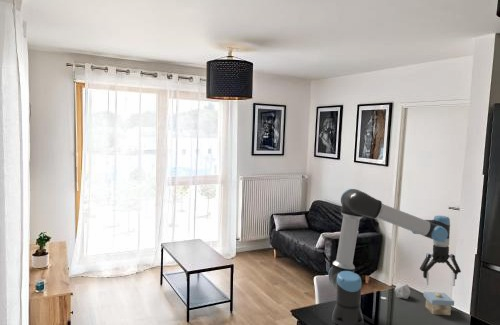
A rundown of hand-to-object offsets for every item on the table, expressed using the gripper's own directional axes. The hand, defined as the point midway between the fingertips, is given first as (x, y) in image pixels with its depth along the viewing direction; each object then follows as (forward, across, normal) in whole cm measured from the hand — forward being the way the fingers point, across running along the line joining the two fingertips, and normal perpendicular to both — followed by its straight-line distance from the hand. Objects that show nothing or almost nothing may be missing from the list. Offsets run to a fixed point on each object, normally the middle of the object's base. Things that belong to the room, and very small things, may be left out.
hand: (439, 284), depth 193 cm
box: (+15, 0, 0) cm, 15 cm away
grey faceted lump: (+15, -14, +16) cm, 26 cm away
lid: (+9, 0, 0) cm, 9 cm away
